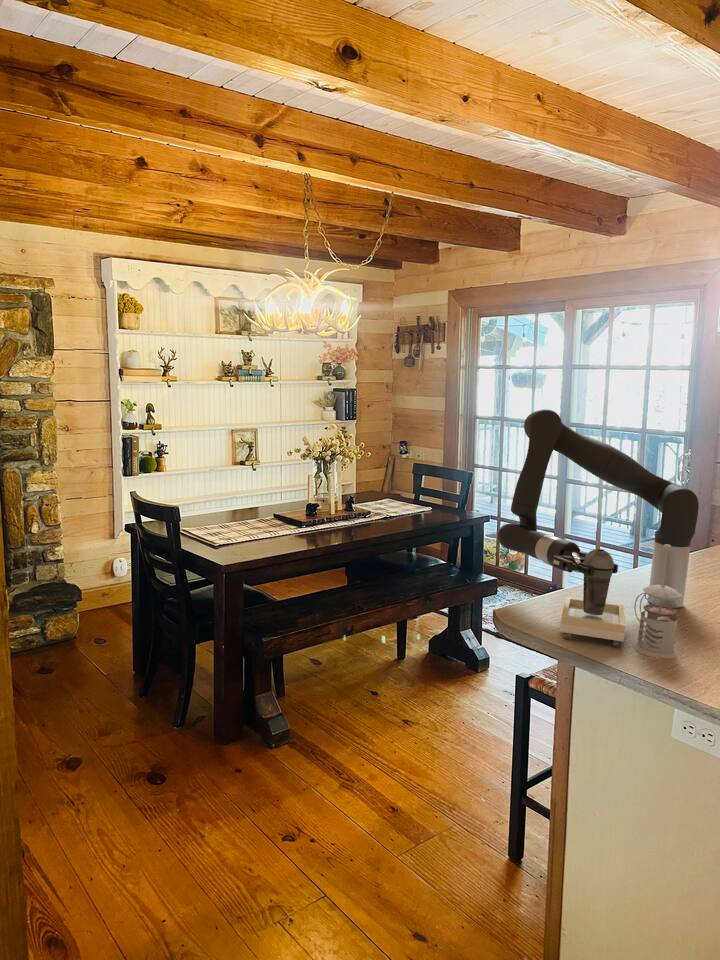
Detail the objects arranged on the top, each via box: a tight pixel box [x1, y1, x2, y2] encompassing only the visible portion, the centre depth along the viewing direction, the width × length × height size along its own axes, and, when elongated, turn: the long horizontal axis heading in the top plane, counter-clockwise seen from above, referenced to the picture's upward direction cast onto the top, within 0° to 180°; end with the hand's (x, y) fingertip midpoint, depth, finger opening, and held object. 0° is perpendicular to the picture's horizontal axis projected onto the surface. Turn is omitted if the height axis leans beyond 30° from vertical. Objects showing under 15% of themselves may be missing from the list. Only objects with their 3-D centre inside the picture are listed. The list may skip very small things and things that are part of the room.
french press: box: [632, 544, 682, 659], centre depth 162 cm, size 10×12×25 cm
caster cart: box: [559, 596, 626, 648], centre depth 171 cm, size 16×14×6 cm
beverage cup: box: [582, 530, 615, 615], centre depth 169 cm, size 7×7×20 cm
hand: (604, 570), depth 167 cm, fingers closed on beverage cup, 7 cm apart
